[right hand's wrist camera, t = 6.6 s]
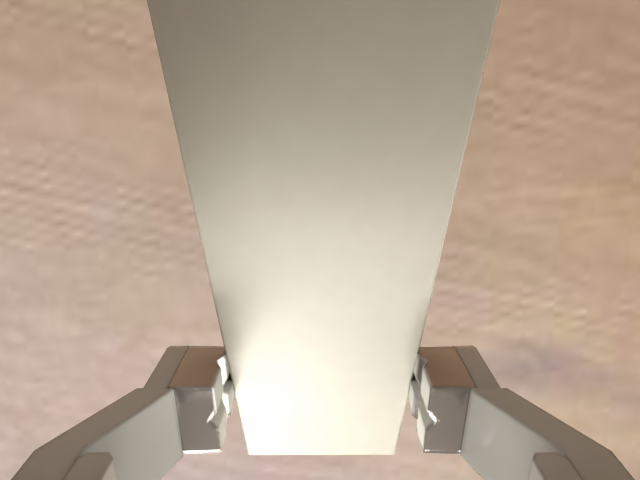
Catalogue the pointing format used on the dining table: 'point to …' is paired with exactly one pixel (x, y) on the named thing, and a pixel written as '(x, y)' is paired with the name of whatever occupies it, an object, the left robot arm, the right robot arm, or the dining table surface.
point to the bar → (322, 195)
